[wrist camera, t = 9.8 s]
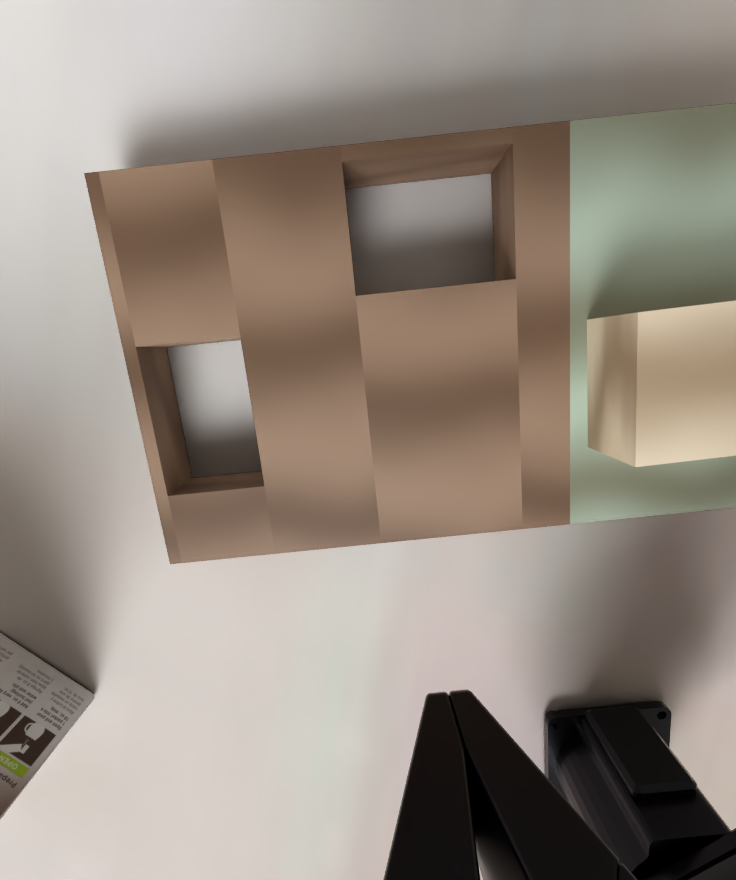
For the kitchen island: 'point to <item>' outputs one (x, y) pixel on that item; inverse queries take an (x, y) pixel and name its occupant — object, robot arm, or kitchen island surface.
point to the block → (663, 384)
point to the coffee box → (32, 715)
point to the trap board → (416, 330)
